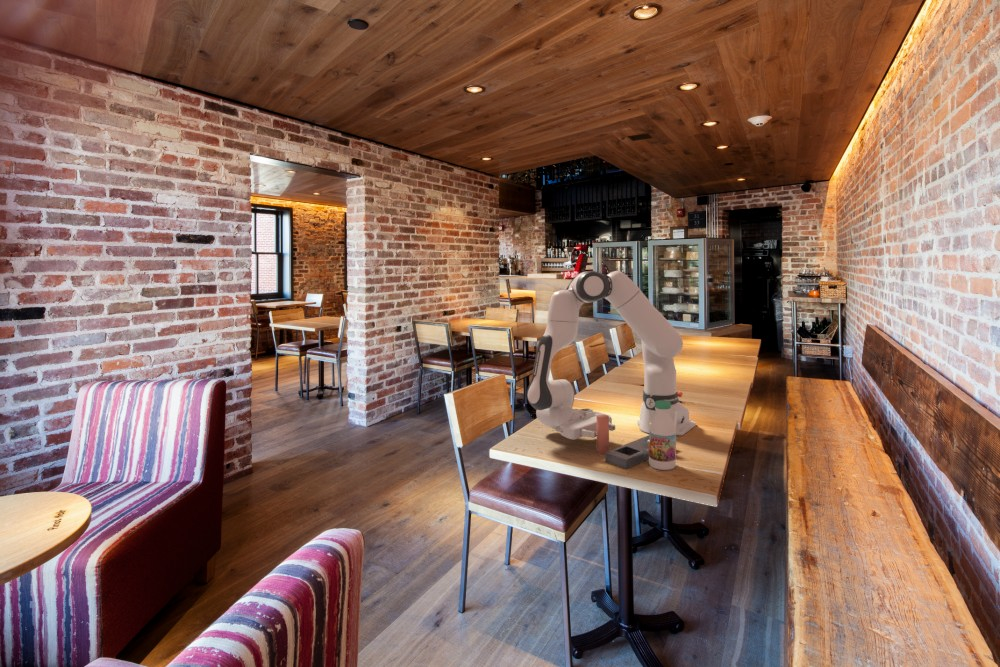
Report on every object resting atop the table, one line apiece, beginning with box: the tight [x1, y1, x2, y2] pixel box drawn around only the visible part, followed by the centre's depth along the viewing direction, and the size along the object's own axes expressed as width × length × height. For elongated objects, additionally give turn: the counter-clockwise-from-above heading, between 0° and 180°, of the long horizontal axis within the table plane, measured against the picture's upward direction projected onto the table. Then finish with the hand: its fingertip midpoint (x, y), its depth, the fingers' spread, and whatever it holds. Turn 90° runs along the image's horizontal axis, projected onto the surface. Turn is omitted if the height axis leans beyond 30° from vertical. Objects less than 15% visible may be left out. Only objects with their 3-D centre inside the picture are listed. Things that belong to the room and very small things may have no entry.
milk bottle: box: [648, 400, 677, 471], centre depth 148 cm, size 8×8×20 cm
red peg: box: [596, 414, 610, 455], centre depth 161 cm, size 4×4×12 cm
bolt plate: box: [604, 422, 651, 470], centre depth 157 cm, size 25×8×9 cm, turn 128°
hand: (604, 431), depth 160 cm, fingers open, 8 cm apart
